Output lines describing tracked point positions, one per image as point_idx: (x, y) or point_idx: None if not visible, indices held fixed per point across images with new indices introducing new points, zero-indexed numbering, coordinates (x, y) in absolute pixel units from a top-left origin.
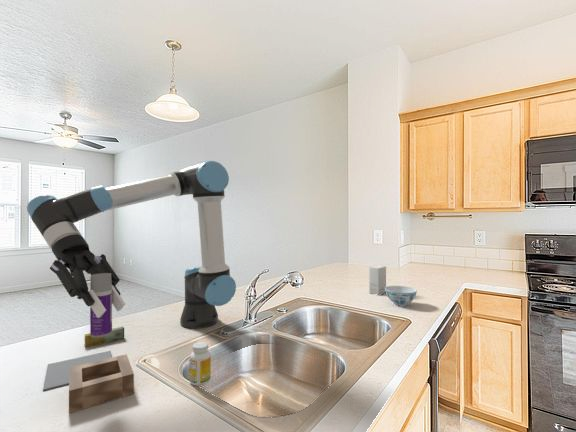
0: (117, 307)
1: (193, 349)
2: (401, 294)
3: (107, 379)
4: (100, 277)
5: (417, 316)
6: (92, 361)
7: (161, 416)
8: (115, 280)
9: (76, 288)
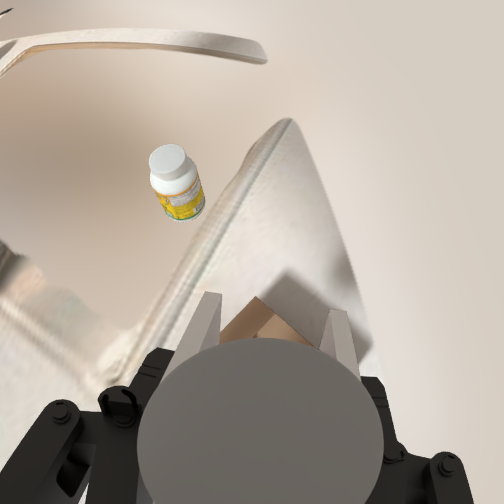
0: (216, 340)
1: (181, 169)
2: None
3: (296, 339)
4: (352, 376)
5: (21, 46)
6: (153, 502)
7: (305, 211)
8: (102, 400)
9: (454, 464)
